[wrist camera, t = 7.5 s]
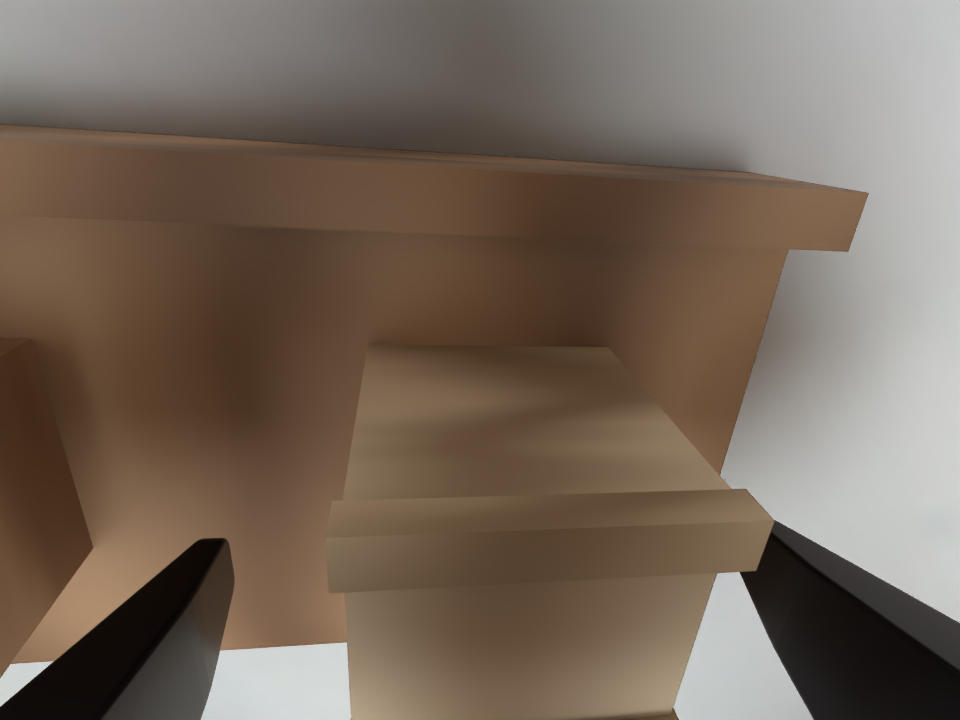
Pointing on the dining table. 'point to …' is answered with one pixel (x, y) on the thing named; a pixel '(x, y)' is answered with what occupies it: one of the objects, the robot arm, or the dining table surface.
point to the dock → (342, 323)
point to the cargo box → (32, 502)
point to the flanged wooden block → (525, 538)
